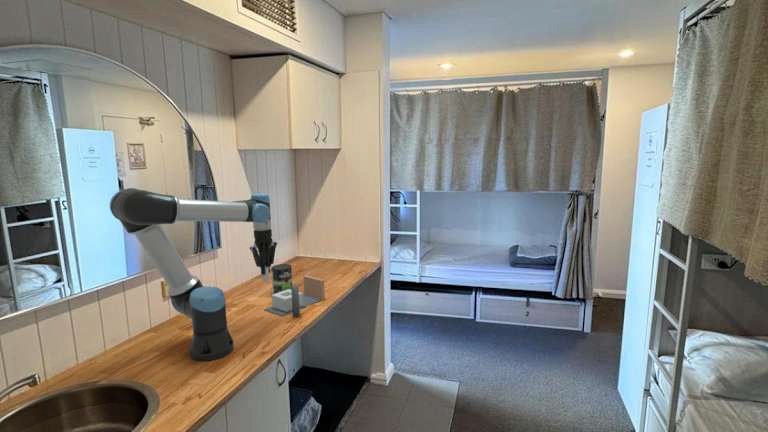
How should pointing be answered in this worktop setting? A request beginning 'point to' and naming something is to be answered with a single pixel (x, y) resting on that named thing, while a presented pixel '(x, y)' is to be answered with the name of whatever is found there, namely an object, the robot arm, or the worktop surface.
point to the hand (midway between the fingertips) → (266, 280)
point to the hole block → (284, 300)
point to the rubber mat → (306, 301)
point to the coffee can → (281, 277)
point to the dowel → (295, 300)
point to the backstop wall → (314, 287)
